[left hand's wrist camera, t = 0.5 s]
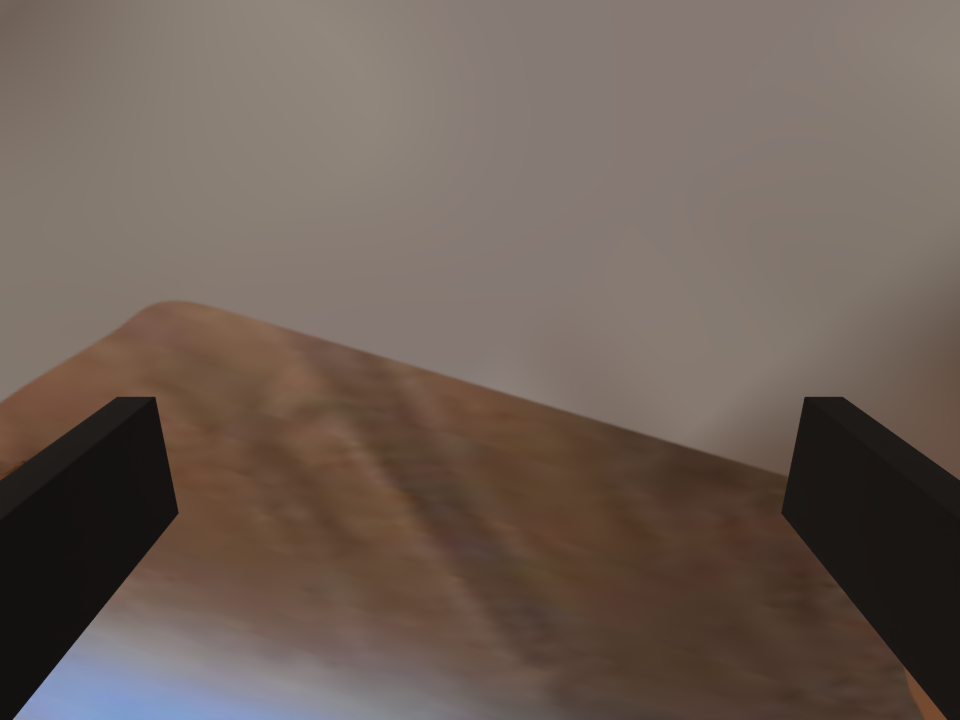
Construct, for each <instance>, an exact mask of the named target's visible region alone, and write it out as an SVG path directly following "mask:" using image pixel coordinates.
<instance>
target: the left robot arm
mask: <svg viewBox="0 0 960 720" xmlns="http://www.w3.org/2000/svg"><path fill="white" fill-rule="evenodd" d="M177 515H178V508H177V503H176V498H175V493H174V488H173V483H172V478H171V473H170V468H169V463H168V458H167V453H166V448H165V443H164V438H163V433H162V428H161V423H160V418H159V413H158V408H157V403H156V398H155V397H117V398H115V399H114V400H112V401H111V402H110V403H108V404H107V405H105V406H104V407H103V408H101V409H100V410H98V411H97V412H96V413H94V414H93V415H91V416H90V417H88V418H87V419H86V420H84V421H83V422H81V423H80V424H79V425H77V426H76V427H74V428H73V429H72V430H70V431H69V432H67V433H66V434H65V435H63V436H62V437H60V438H59V439H58V440H56V441H55V442H53V443H52V444H51V445H49V446H48V447H46V448H45V449H44V450H42V451H41V452H39V453H38V454H37V455H35V456H34V457H32V458H31V459H30V460H28V461H27V462H25V463H24V464H23V465H21V466H20V467H18V468H17V469H16V470H14V471H13V472H11V473H10V474H9V475H7V476H6V477H4V478H3V479H2V480H0V720H13V719H14V717H15V716H16V715H17V714H18V712H19V711H20V710H21V709H22V707H23V706H24V705H25V704H26V702H27V701H28V700H29V699H30V697H31V696H32V695H33V694H34V693H35V691H36V690H37V689H38V688H39V686H40V685H41V684H42V683H43V681H44V680H45V679H46V678H47V676H48V675H49V674H50V673H51V671H52V670H53V669H54V668H55V666H56V665H57V664H58V663H59V661H60V660H61V659H62V658H63V656H64V655H65V654H66V653H67V651H68V650H69V649H70V648H71V646H72V645H73V644H74V643H75V641H76V640H77V639H78V638H79V636H80V635H81V634H82V633H83V632H84V630H85V629H86V628H87V627H88V625H89V624H90V623H91V622H92V620H93V619H94V618H95V617H96V615H97V614H98V613H99V612H100V610H101V609H102V608H103V607H104V605H105V604H106V603H107V602H108V600H109V599H110V598H111V597H112V595H113V594H114V593H115V592H116V590H117V589H118V588H119V587H120V585H121V584H122V583H123V582H124V580H125V579H126V578H127V577H128V576H129V574H130V573H131V572H132V571H133V569H134V568H135V567H136V566H137V564H138V563H139V562H140V561H141V559H142V558H143V557H144V556H145V554H146V553H147V552H148V551H149V549H150V548H151V547H152V546H153V544H154V543H155V542H156V541H157V539H158V538H159V537H160V536H161V534H162V533H163V532H164V531H165V529H166V528H167V527H168V526H169V524H170V523H171V522H172V521H173V520H174V518H175V517H176V516H177ZM782 515H783V516H784V517H785V518H786V520H787V521H788V522H789V523H790V524H791V526H792V527H793V528H794V529H795V531H796V532H797V533H798V534H799V536H800V537H801V538H802V539H803V541H804V542H805V543H806V544H807V546H808V547H809V548H810V549H811V551H812V552H813V553H814V554H815V556H816V557H817V558H818V559H819V561H820V562H821V563H822V564H823V566H824V567H825V568H826V569H827V571H828V572H829V573H830V574H831V576H832V577H833V578H834V579H835V580H836V582H837V583H838V584H839V585H840V587H841V588H842V589H843V590H844V592H845V593H846V594H847V595H848V597H849V598H850V599H851V600H852V602H853V603H854V604H855V605H856V607H857V608H858V609H859V610H860V612H861V613H862V614H863V615H864V617H865V618H866V619H867V620H868V622H869V623H870V624H871V625H872V627H873V628H874V629H875V630H876V632H877V633H878V634H879V635H880V636H881V638H882V639H883V640H884V641H885V643H886V644H887V645H888V646H889V648H890V649H891V650H892V651H893V653H894V654H895V655H896V656H897V658H898V659H899V660H900V661H901V663H902V664H903V665H904V666H905V668H906V669H907V670H908V671H909V673H910V674H911V675H912V676H913V678H914V679H915V680H916V681H917V683H918V684H919V685H920V686H921V688H922V689H923V690H924V691H925V692H926V694H927V695H928V696H929V697H930V699H931V700H932V701H933V702H934V704H935V705H936V706H937V707H938V709H939V710H940V711H941V712H942V714H943V715H944V716H945V717H946V719H947V720H960V480H958V479H957V478H956V477H954V476H953V475H951V474H950V473H949V472H947V471H946V470H944V469H943V468H941V467H940V466H939V465H937V464H936V463H935V462H933V461H932V460H930V459H929V458H928V457H926V456H925V455H923V454H922V453H920V452H919V451H918V450H916V449H915V448H914V447H912V446H911V445H909V444H908V443H906V442H905V441H904V440H902V439H901V438H900V437H898V436H897V435H895V434H894V433H893V432H891V431H890V430H888V429H887V428H886V427H884V426H883V425H881V424H880V423H878V422H877V421H876V420H874V419H873V418H872V417H870V416H869V415H867V414H866V413H864V412H863V411H862V410H860V409H859V408H857V407H856V406H855V405H853V404H852V403H850V402H849V401H848V400H846V399H845V398H843V397H805V398H804V403H803V408H802V413H801V418H800V423H799V428H798V433H797V438H796V443H795V448H794V453H793V458H792V463H791V468H790V473H789V478H788V483H787V488H786V493H785V498H784V503H783V508H782Z"/></svg>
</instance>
